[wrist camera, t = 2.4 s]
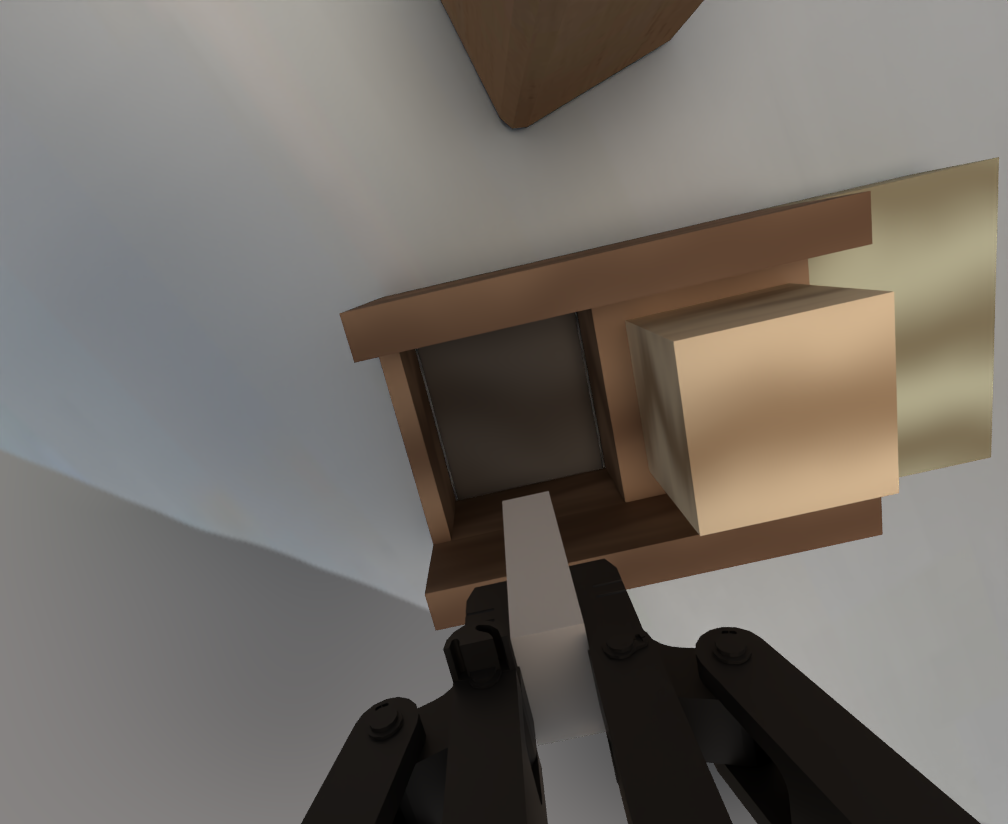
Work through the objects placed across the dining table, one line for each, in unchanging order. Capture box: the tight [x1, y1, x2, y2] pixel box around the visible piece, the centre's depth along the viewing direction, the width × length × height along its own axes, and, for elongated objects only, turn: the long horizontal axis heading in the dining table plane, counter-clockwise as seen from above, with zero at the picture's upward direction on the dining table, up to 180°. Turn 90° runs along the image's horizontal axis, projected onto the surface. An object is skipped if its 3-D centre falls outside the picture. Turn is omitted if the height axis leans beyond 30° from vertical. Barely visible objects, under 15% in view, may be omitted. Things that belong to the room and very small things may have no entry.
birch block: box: [625, 283, 899, 536], centre depth 24 cm, size 8×8×7 cm
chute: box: [340, 157, 999, 630], centre depth 28 cm, size 15×30×10 cm, turn 103°
